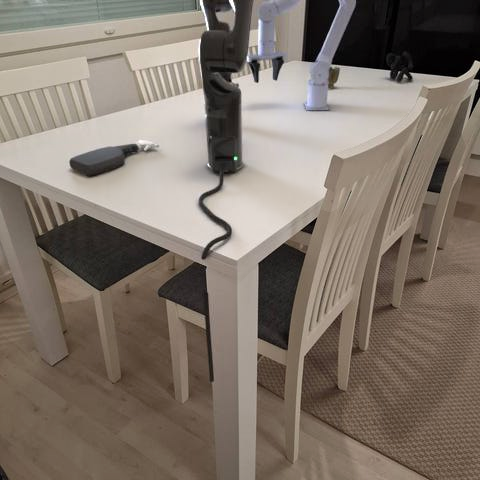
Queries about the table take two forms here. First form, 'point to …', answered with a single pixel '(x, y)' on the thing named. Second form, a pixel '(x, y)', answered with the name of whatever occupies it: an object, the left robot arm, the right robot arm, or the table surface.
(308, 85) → the right robot arm
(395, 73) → the squiggle
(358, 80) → the table surface
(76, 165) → the spray bottle
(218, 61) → the left robot arm
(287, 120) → the table surface
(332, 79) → the olive rounded piece
